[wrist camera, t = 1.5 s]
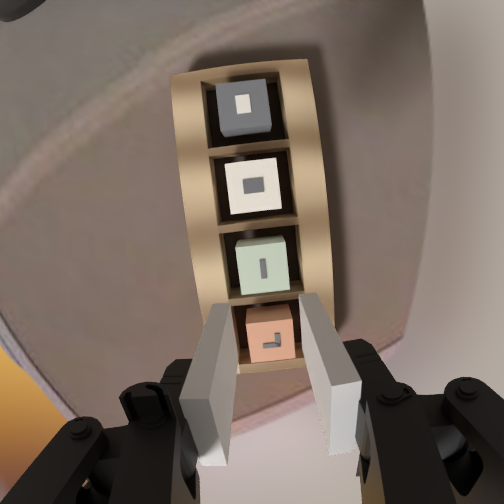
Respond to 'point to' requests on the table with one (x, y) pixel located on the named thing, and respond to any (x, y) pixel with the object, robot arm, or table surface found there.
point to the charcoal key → (243, 108)
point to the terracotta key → (270, 333)
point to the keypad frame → (212, 227)
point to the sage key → (262, 264)
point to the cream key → (253, 186)
